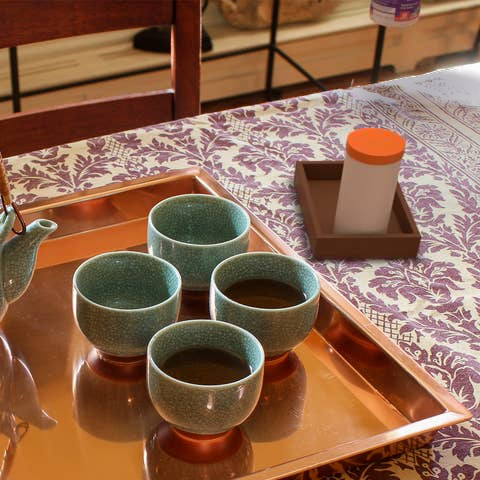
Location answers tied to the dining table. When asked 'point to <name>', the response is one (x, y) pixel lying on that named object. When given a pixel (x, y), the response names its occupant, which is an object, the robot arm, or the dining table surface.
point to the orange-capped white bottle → (368, 181)
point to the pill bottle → (395, 12)
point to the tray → (324, 210)
